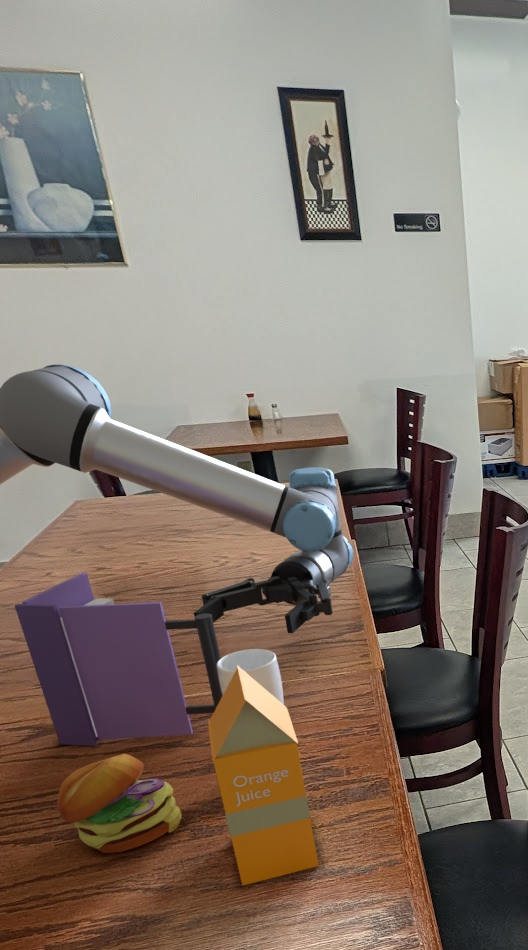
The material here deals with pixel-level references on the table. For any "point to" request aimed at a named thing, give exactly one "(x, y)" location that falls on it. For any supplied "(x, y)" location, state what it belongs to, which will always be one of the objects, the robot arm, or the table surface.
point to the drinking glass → (252, 670)
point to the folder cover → (136, 668)
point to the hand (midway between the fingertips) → (242, 623)
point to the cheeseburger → (117, 805)
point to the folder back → (60, 657)
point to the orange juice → (261, 782)
